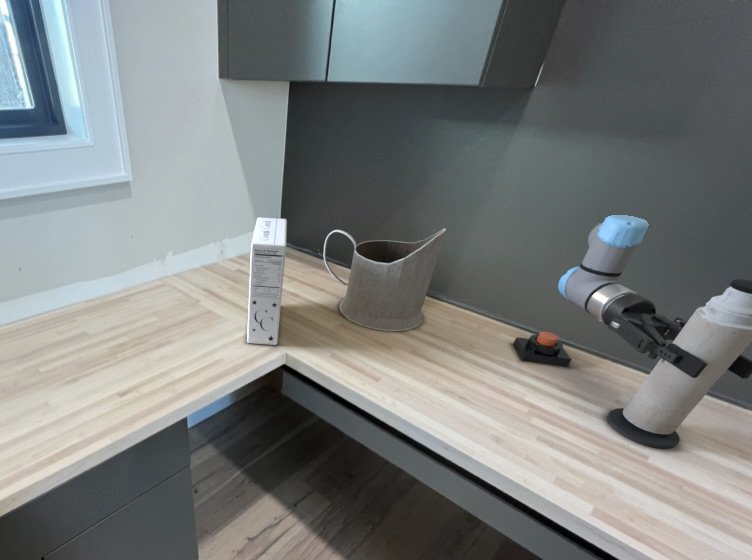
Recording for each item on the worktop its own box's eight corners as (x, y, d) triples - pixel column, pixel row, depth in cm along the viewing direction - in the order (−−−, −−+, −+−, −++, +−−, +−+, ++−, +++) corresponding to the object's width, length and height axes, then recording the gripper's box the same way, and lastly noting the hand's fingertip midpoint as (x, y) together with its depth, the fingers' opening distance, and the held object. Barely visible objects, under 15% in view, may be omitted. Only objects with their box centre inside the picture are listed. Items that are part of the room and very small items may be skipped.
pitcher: (408, 339, 108) (438, 242, 94) (300, 307, 122) (311, 218, 108) (431, 308, 124) (459, 221, 109) (333, 282, 138) (346, 202, 123)
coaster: (657, 416, 85) (660, 413, 85) (690, 453, 77) (693, 450, 76) (597, 407, 87) (599, 404, 87) (622, 442, 79) (624, 439, 78)
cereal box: (253, 306, 122) (257, 217, 107) (278, 307, 122) (286, 218, 107) (246, 343, 105) (251, 243, 90) (277, 345, 104) (286, 245, 90)
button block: (555, 350, 106) (563, 336, 104) (567, 367, 100) (575, 352, 97) (512, 344, 108) (519, 330, 105) (521, 360, 102) (528, 346, 99)
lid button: (551, 340, 103) (555, 332, 102) (557, 348, 100) (561, 340, 98) (533, 337, 104) (537, 330, 102) (539, 345, 100) (542, 338, 99)
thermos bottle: (663, 412, 83) (771, 277, 66) (682, 438, 77) (807, 298, 60) (616, 403, 85) (709, 271, 68) (631, 428, 79) (738, 290, 62)
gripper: (658, 326, 89) (769, 390, 71) (563, 324, 88) (649, 388, 70) (681, 293, 85) (805, 352, 66) (581, 291, 84) (678, 350, 66)
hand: (725, 371), depth 68 cm, fingers closed on thermos bottle, 8 cm apart
